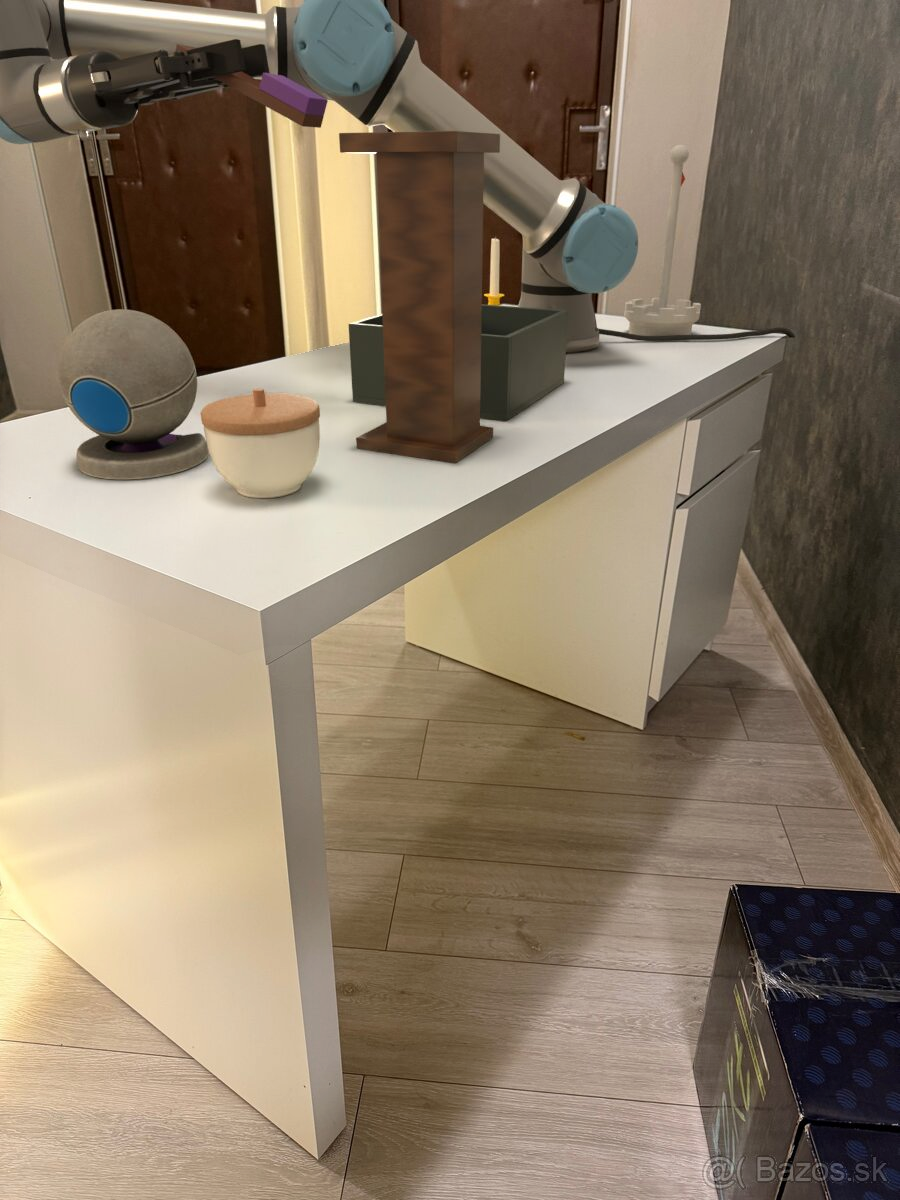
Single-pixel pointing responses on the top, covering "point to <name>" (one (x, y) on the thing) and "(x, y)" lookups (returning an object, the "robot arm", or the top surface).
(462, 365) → the shelf stand
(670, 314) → the flag stand
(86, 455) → the webcam
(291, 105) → the scrub brush
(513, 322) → the dark green open box
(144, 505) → the top surface
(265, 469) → the trinket box
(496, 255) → the candle
